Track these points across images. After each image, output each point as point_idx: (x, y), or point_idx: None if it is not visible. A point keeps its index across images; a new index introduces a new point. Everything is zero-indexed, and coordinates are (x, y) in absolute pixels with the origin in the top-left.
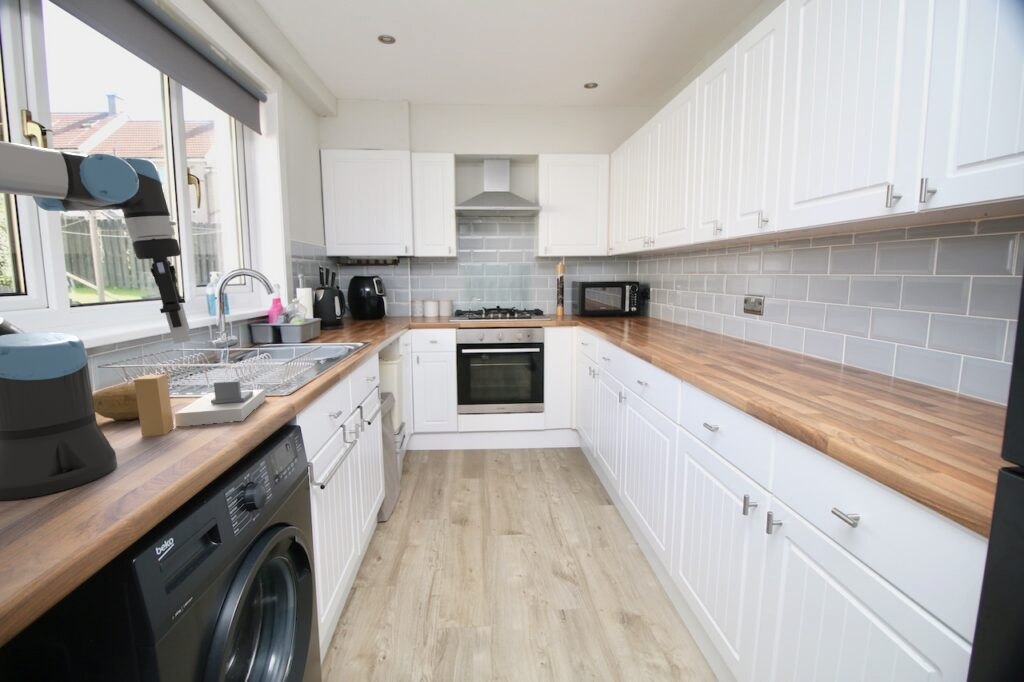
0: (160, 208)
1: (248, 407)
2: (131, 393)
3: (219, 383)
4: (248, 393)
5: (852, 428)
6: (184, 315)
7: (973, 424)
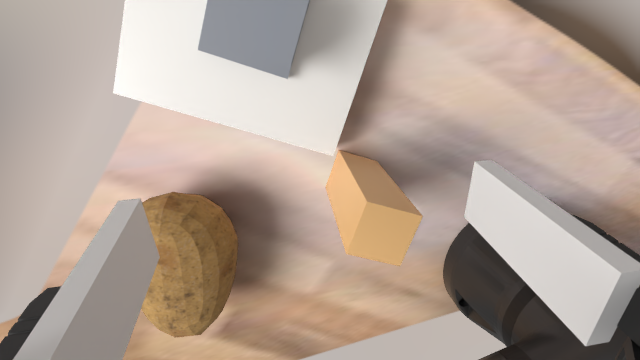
0: None
1: None
2: (216, 268)
3: (293, 51)
4: None
5: None
6: (101, 277)
7: None
